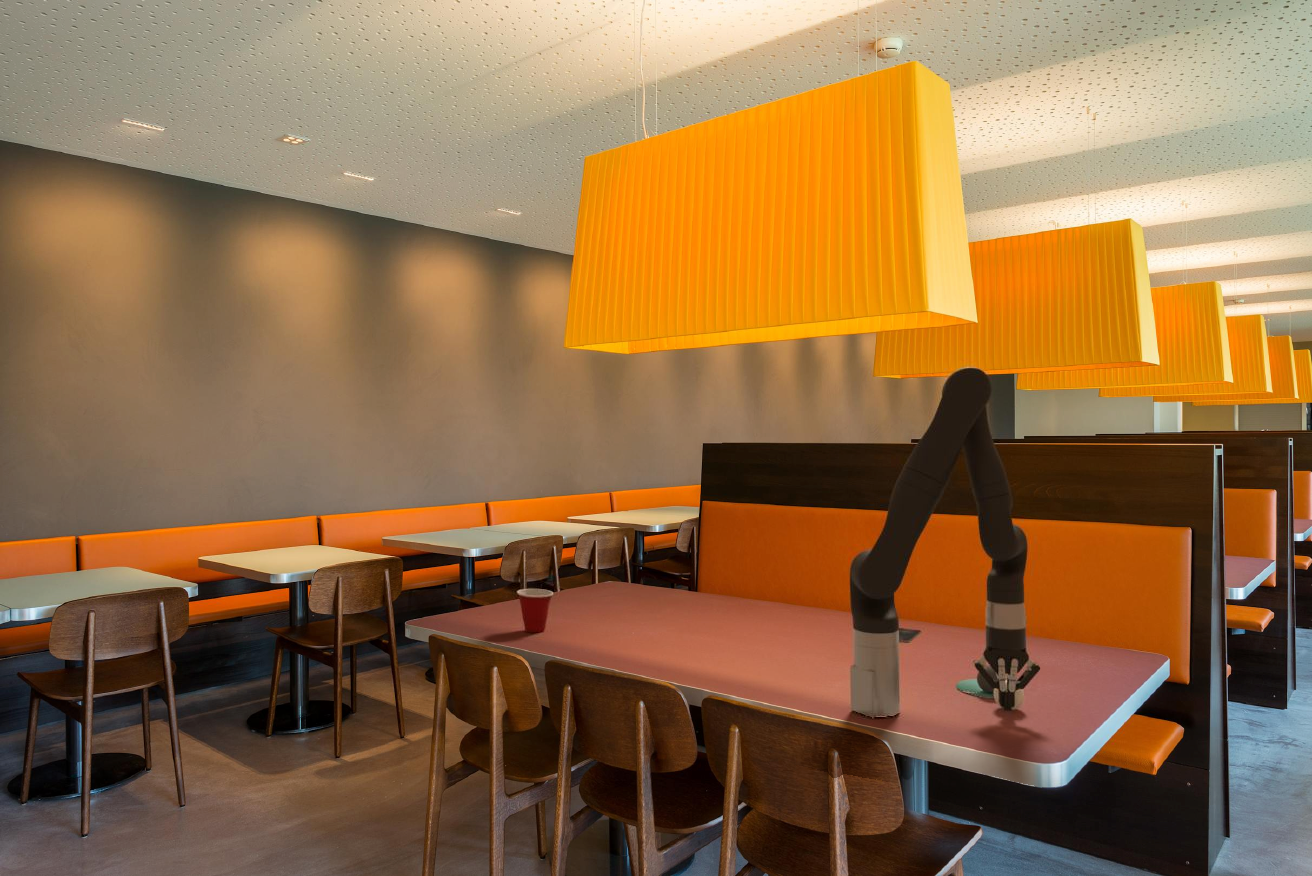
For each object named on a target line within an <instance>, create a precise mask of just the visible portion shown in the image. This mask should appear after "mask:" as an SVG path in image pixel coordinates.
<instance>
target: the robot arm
mask: <svg viewBox="0 0 1312 876" xmlns="http://www.w3.org/2000/svg"><path fill="white" fill-rule="evenodd" d="M992 388H993V386H992V382H991V379H990V377H989V375H988V374H987V373H986V372H985V371H984V370H982V369H980V368H979V367H974V366H968V367H961V368H959V369H957V370H955V371H954V372H952V373H951V374H950V375H949V376H948V377H947V379H946V380H945V381H944V384H943V386H942V390H941V399H940V401H939V403H938V406H937V409H936V411H935V414H934V416H933V418H932V421H931V423H930V424H929V426H928V427H927V429H926V431H925V432H924V433H923V435H922V437H921V438H920V440H919V441H918V442H917V444H916V445H915V447H914V448H913V450H912V452H911V453H910V455H909V457H908V458H907V460H906V462H905V464H904V466H903V468H902V470H901V471H900V474H899V476H898V478H897V480H896V482H895V485H894V486H893V489H892V492H891V495H890V496H891V497H890V500H889V503H888V504H889V505H888V509H887V513H886V514H887V515H886V519H885V522H884V526H883V528H882V531H880V532H881V533H880V534H879V536H878V538H877V540H876V541H875V543H874V544H873V547H872V548H871V549H866V550H863V551H861V552H859V553H858V554H857V555H856V556H855V557H854V558H853V560H852V562H851V564H850V567H849V568H850V569H849V594H850V595H849V596H850V597H849V598H850V599H849V600H850V602H849V603H850V613H851V615H852V617H851V618H852V633H853V634H852V635H853V636H852V639H853V643H852V644H853V646H852V647H853V649H852V650H853V651H852V653H853V655H852V656H853V664H851V665H850V666H849V671H850V673H849V674H850V677H849V678H850V682H849V684H850V685H849V686H850V711H851V710H853V711H856V712H859V713H861V714H864V715H867V716H870V717H876V716H890V715H894V714H897V713H898V712H899V711H900V712H901V702H900V699H901V697H900V642H899V628H900V625H899V624H900V623H899V622H900V620H899V616H898V612H897V609H896V603H895V593H896V592H897V590H899V588H900V586H901V585H902V582H903V579H904V577H905V573H906V571H907V568H908V565H909V562H910V561H911V560H910V559H911V557H912V555H913V552H914V550H915V547H916V545H917V543H918V541H919V539H920V537H921V535H922V534H923V532H924V530H925V529H926V526H927V524H928V522H929V520H930V518H931V516H932V515H933V513H934V511H935V509H936V507H937V505H938V503H940V500H941V498H942V496H943V494H944V492H945V489H946V488H947V486H948V483H949V481H950V479H951V476H952V474H953V472H954V469H955V466H956V465H957V462H958V459H959V456H960V453H961V450H962V451H963V455H964V460H965V465H966V468H967V473H968V478H969V482H970V486H971V490H972V494H973V497H974V501H975V505H976V507H977V508H976V509H977V523H978V532H979V533H978V534H979V540H980V543H981V547H982V549H983V551H984V553H985V555H987V557H989V558H990V559H991V569H990V572H989V573H988V574H987V578H986V605H985V649H984V651H983V654H982V656H981V657H980V658H979V659H975V660H973V662H972V664H973V666H974V667H975V669H976V670H977V672H980V674H981V675H982V676H983V677H984V679H985V680H986V681H987V682H988V684H989V685H990V686H991V687H992V688H996V689H998V693H999V704H1000V706H1001V707H1000V706H999V707H1000V708H1002V709H1003V710H1004V711H1007V710H1008V711H1013V710H1012V707H1014V706H1015V691H1016V690H1018V689H1023V690H1024V689H1025V687H1027V686H1028V685H1029V683H1030V682H1031V681H1032V680H1033V679H1034V677H1035V676H1036V675H1037V674H1038V673H1039V672H1040V670H1041V667H1040V665H1039V664H1038V663H1037V662H1035V661H1033V660H1032V659H1030V655H1029V654H1028V652H1027V618H1026V616H1027V615H1026V613H1027V612H1026V608H1025V583H1024V578H1025V573H1026V567H1027V559H1028V547H1029V546H1028V539H1027V536H1026V533H1025V531H1024V530H1023V529H1022V528H1021V527H1020V526H1019V525H1017V524H1015V523H1013V518H1012V514H1011V510H1012V508H1013V506H1014V503H1013V496H1012V491H1011V487H1010V484H1009V481H1008V476H1007V473H1006V469H1005V467H1004V464H1003V462H1002V459H1001V457H1000V455H999V452H998V450H997V448H996V445H995V443H994V440H993V437H992V433H991V429H990V425H989V419H988V411H987V405H988V403H989V401H990V400H991V397H992V395H993V394H992V392H993V389H992ZM987 663H988V665H987ZM987 666H991V667H992V669H993V670H994V671H995V672H996V676H997V681H996V680H994V679H993V678H992V677H991V676H990V675H989V673H988V672H987V671H986V670H985V669H986V668H987ZM1023 668H1025V670H1024V672H1022V673H1021V675H1020V676H1019V677H1018V674H1019V673H1020V672H1021V670H1022V669H1023ZM1006 680H1007V684H1006ZM1006 686H1007V689H1006ZM853 711H852V712H853ZM856 712H855V713H856ZM859 713H858V714H859ZM861 714H860V715H861ZM864 715H863V716H864ZM867 716H866V717H867ZM870 717H869V718H870Z"/></svg>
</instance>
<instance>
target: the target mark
mask: <svg viewBox="0 0 1312 876" xmlns="http://www.w3.org/2000/svg"><path fill="white" fill-rule="evenodd" d="M955 687H957V688H958V689H959V690H958V689H957V688H956V689H957V690H958V691H960V690H961V691H966V692H967V691H969V692H971V693H968V694H967V695H969V694H971V695H970V696H973V695H976V696H975V697H977V696H981V697H980V698H983V697H989V698H988V699H991V698H994V694H989V693H986V692H984V691H983V690H982V689H981V688H980V687H979V685H978V683H977V678H970V679H969V678H968V679H964V680H960V681H958V682H957V683H956V685H955ZM961 691H960V692H961ZM972 692H974V693H972ZM976 692H977V693H976Z"/></svg>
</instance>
